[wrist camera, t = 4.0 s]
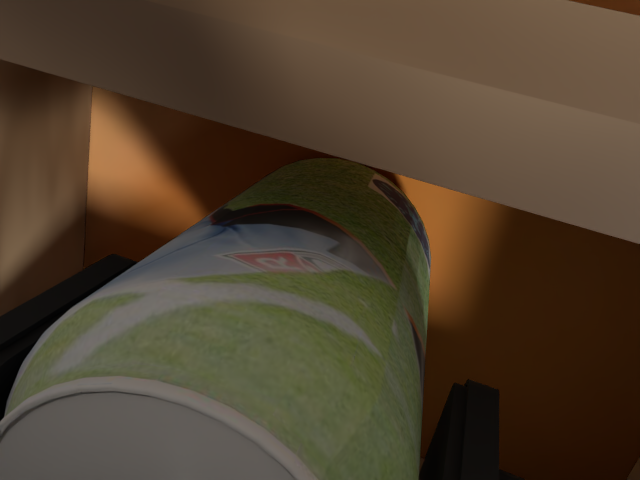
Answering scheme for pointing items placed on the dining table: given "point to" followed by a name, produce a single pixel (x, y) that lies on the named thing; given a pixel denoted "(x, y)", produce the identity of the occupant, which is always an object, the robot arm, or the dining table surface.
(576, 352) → the dining table surface
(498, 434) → the robot arm
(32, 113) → the box
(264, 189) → the beverage can
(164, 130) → the dining table surface
